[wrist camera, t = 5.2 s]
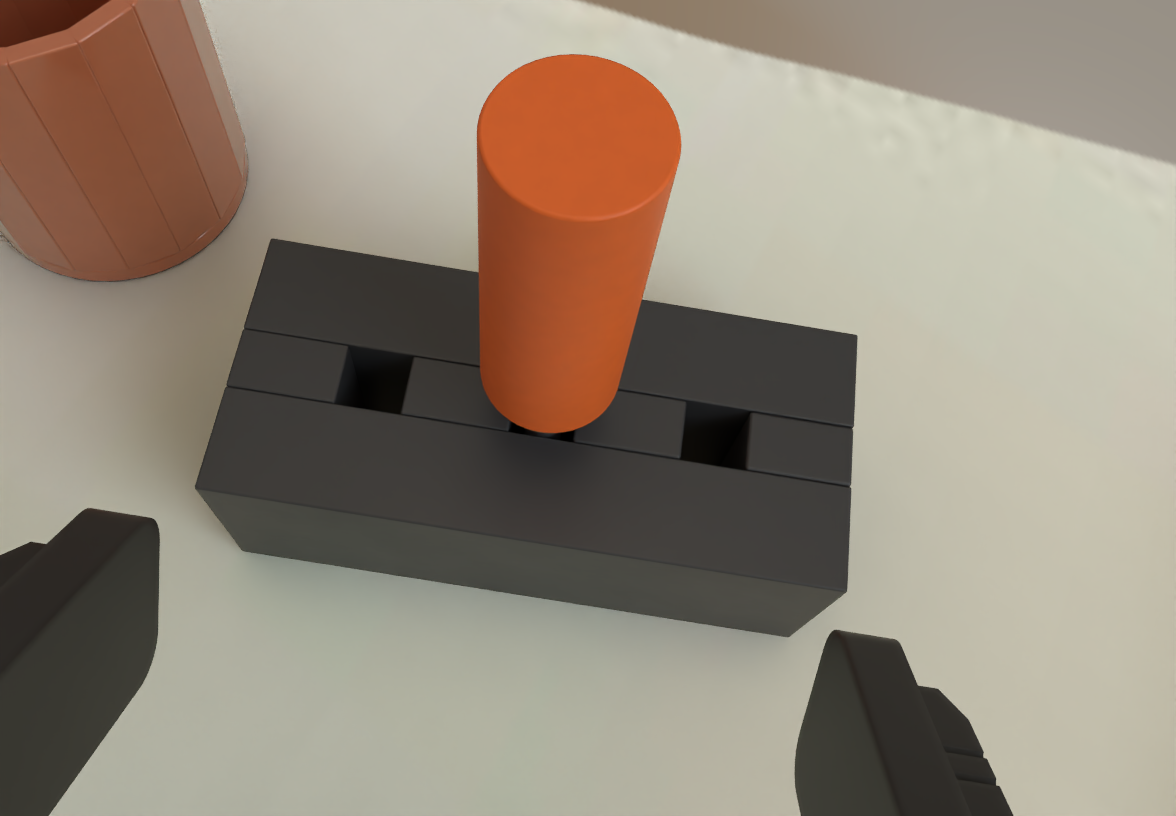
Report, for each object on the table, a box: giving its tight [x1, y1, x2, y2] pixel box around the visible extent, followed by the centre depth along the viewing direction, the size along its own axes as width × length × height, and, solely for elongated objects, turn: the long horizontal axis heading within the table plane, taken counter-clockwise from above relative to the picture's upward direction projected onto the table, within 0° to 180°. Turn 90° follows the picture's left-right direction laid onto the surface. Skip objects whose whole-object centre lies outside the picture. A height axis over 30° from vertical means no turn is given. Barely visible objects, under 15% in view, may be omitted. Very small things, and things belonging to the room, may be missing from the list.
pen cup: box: [0, 0, 248, 281], centre depth 28 cm, size 7×7×9 cm
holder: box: [195, 239, 857, 637], centre depth 27 cm, size 6×14×5 cm, turn 82°
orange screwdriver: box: [477, 54, 681, 440], centre depth 22 cm, size 3×3×15 cm
